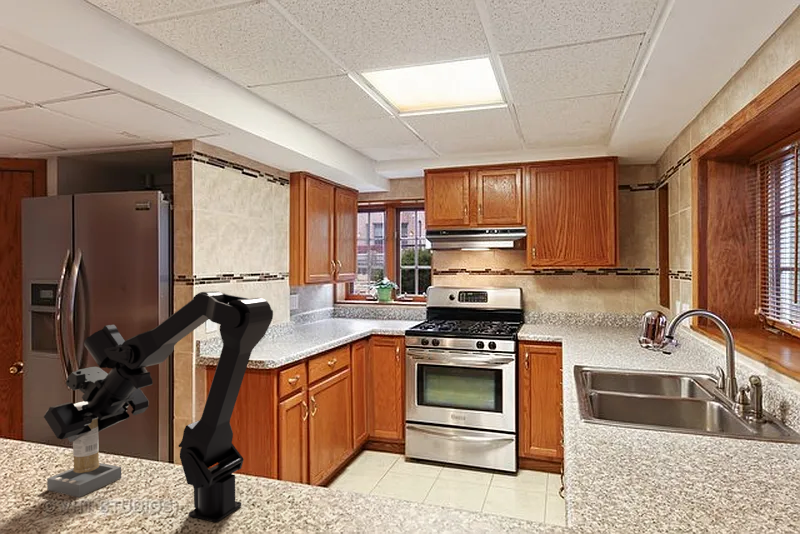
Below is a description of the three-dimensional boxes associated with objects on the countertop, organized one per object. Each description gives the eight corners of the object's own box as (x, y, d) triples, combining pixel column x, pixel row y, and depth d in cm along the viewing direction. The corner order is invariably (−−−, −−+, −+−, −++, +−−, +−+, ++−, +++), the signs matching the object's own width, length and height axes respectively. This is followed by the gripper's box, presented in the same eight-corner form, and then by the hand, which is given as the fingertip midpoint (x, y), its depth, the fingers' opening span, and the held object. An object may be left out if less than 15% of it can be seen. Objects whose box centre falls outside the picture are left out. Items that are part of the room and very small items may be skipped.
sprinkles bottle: (96, 463, 102) (95, 398, 102) (102, 469, 99) (100, 402, 99) (70, 469, 99) (69, 403, 99) (75, 476, 95) (74, 407, 95)
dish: (121, 478, 101) (121, 465, 101) (79, 497, 93) (79, 484, 93) (90, 471, 104) (90, 460, 104) (47, 490, 96) (47, 477, 96)
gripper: (138, 347, 106) (102, 394, 110) (49, 363, 89) (11, 419, 92) (166, 386, 103) (129, 433, 107) (80, 410, 86) (40, 465, 90)
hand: (80, 436), depth 99 cm, fingers closed on sprinkles bottle, 4 cm apart
